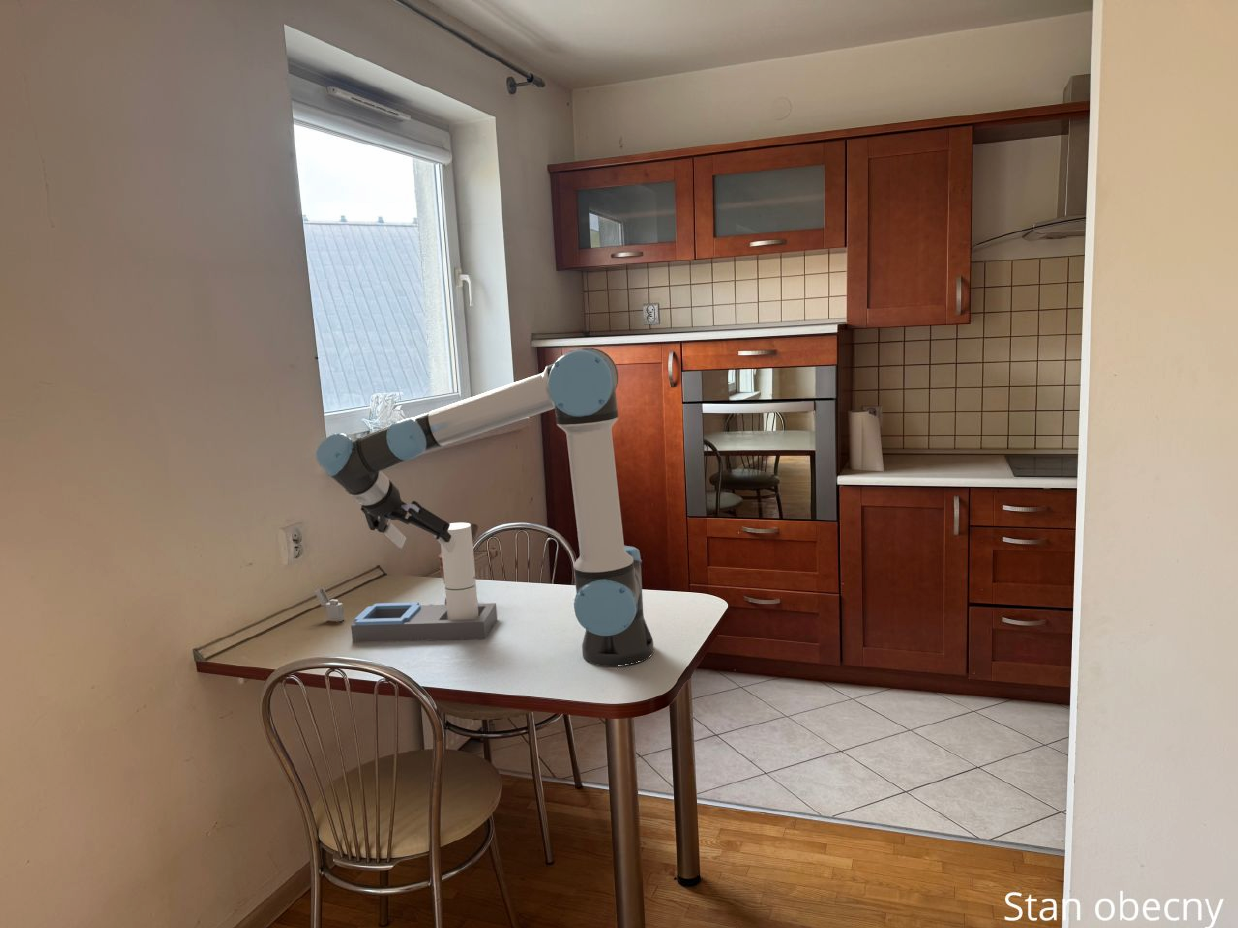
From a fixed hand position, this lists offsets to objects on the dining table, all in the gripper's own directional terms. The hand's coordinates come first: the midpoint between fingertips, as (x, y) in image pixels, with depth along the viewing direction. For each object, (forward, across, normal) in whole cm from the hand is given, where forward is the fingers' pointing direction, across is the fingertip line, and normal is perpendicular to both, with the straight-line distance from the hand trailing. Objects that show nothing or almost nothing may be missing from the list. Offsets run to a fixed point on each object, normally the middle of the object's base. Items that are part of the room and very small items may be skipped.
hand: (427, 545), depth 187 cm
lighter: (+21, -37, -12) cm, 44 cm away
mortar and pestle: (+36, -13, +3) cm, 39 cm away
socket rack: (+21, -8, -11) cm, 25 cm away
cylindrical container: (+24, 0, -9) cm, 25 cm away
